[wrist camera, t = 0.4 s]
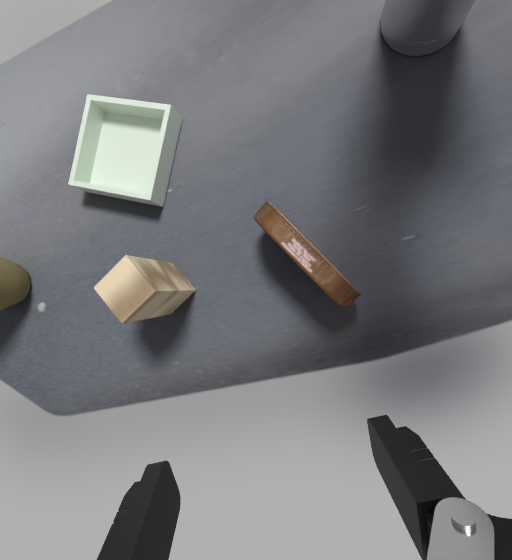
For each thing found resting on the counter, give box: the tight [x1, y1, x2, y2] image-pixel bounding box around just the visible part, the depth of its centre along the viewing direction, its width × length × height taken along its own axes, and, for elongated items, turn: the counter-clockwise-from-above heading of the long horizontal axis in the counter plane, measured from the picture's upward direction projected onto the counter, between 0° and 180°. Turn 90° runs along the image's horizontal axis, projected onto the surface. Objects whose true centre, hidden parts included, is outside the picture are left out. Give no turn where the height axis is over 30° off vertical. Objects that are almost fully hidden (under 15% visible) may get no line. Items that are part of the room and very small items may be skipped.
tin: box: [254, 200, 361, 307], centre depth 36 cm, size 15×3×8 cm, turn 44°
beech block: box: [94, 255, 196, 323], centre depth 38 cm, size 5×5×11 cm
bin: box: [68, 94, 182, 207], centre depth 43 cm, size 12×12×4 cm
